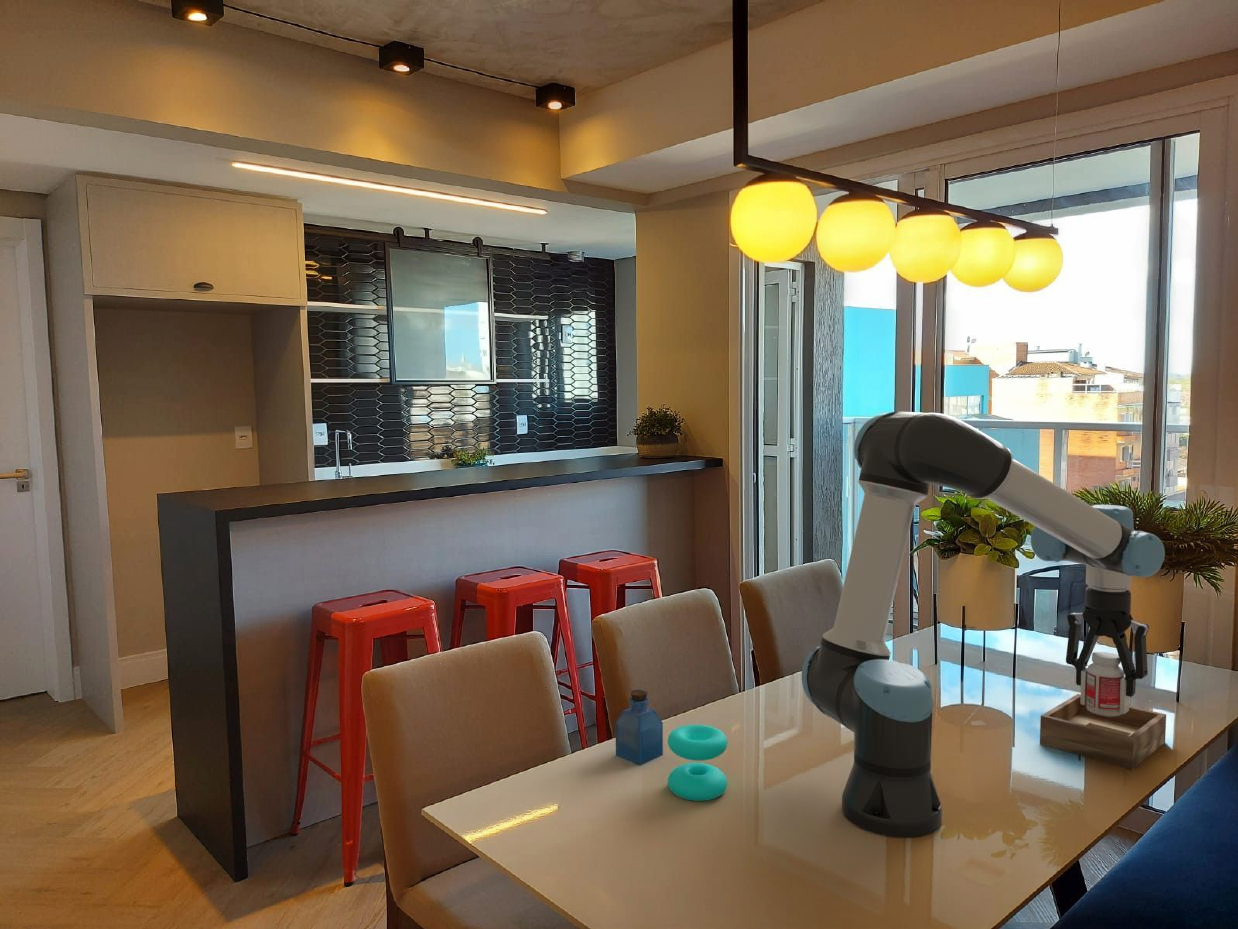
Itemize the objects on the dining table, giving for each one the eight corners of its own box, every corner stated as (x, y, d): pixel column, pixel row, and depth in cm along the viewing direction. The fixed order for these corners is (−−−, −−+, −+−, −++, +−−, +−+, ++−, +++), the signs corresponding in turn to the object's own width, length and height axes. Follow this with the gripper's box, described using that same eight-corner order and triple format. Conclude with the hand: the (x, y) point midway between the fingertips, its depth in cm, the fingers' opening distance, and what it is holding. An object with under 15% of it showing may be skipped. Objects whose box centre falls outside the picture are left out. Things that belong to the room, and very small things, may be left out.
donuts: (675, 719, 155) (732, 725, 152) (675, 774, 156) (731, 781, 153) (661, 740, 145) (721, 747, 143) (661, 799, 146) (721, 807, 143)
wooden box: (1132, 769, 157) (1133, 739, 156) (1039, 743, 168) (1040, 715, 168) (1165, 742, 169) (1166, 714, 168) (1076, 720, 180) (1077, 694, 180)
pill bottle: (1129, 713, 167) (1131, 656, 166) (1112, 720, 164) (1114, 661, 163) (1096, 703, 172) (1098, 648, 171) (1079, 710, 169) (1081, 653, 168)
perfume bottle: (662, 755, 164) (662, 692, 163) (640, 765, 160) (640, 700, 159) (637, 746, 168) (637, 684, 168) (615, 756, 164) (615, 693, 163)
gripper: (1172, 592, 162) (1167, 715, 163) (1063, 577, 176) (1059, 690, 178) (1158, 599, 157) (1154, 726, 158) (1047, 583, 171) (1044, 699, 173)
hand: (1104, 707), depth 168 cm, fingers closed on pill bottle, 6 cm apart
